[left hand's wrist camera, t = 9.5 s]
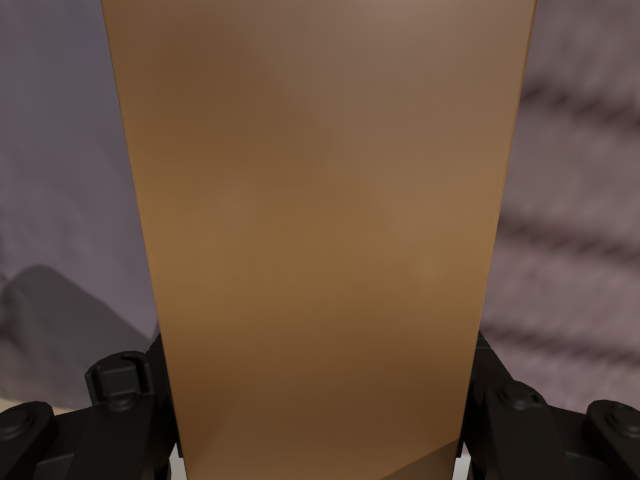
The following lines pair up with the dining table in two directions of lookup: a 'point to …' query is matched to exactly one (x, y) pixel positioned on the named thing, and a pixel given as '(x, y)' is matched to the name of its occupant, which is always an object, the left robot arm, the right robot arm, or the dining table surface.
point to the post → (319, 220)
